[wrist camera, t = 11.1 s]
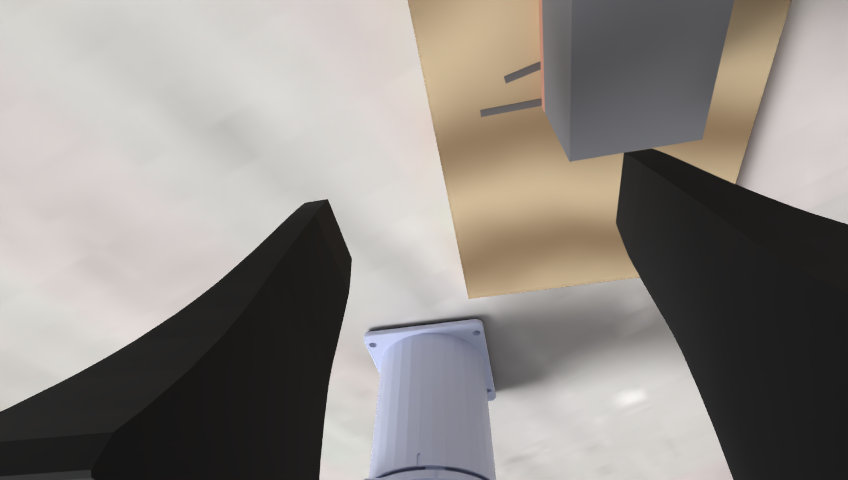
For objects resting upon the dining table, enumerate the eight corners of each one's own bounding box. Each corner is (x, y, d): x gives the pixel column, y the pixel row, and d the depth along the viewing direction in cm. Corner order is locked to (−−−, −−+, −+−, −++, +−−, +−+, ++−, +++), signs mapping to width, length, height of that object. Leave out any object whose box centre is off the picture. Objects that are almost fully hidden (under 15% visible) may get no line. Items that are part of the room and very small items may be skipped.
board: (698, 253, 23) (709, 268, 23) (467, 284, 25) (468, 299, 24) (823, -199, 12) (855, -208, 11) (393, -86, 14) (390, -85, 13)
